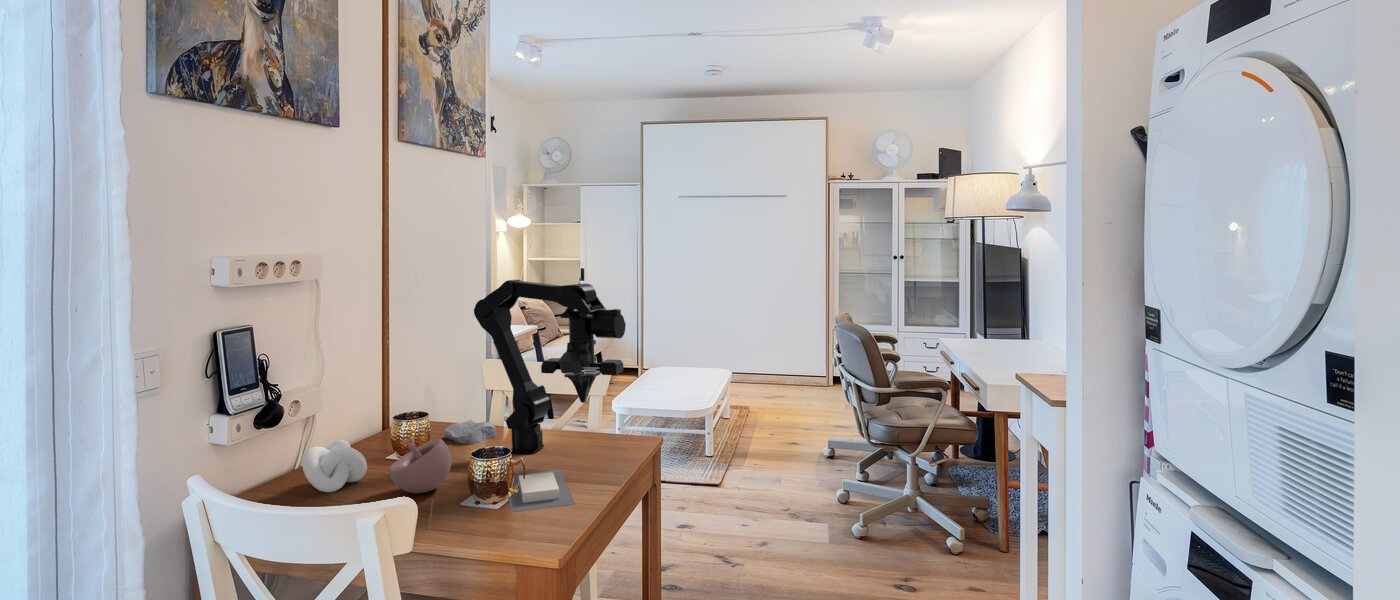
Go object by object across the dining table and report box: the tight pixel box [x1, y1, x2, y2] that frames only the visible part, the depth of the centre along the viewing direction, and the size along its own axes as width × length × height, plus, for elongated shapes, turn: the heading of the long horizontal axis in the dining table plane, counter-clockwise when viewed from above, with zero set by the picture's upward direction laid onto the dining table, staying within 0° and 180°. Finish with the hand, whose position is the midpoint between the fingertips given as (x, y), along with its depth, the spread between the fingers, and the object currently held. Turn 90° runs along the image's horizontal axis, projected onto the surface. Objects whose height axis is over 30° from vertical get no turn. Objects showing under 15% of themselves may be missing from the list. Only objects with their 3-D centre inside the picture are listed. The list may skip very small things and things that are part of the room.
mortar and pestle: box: [388, 437, 452, 494], centre depth 143 cm, size 12×12×12 cm
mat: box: [507, 469, 576, 513], centre depth 143 cm, size 22×12×1 cm, turn 18°
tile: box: [519, 472, 559, 503], centre depth 141 cm, size 2×7×11 cm
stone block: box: [443, 419, 497, 445], centre depth 184 cm, size 12×5×10 cm
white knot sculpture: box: [301, 439, 368, 493], centre depth 148 cm, size 11×12×9 cm
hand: (583, 402), depth 165 cm, fingers closed
